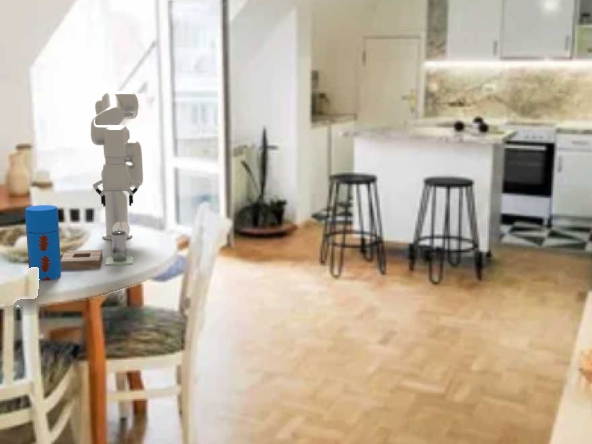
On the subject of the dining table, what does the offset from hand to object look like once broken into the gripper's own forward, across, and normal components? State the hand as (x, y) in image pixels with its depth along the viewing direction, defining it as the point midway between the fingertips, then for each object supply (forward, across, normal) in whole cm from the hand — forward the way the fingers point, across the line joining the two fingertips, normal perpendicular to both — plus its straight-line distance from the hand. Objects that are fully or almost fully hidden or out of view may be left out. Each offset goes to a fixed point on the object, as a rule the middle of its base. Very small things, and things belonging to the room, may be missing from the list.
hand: (117, 205), depth 277 cm
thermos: (+22, +25, +17) cm, 38 cm away
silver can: (+21, 0, 0) cm, 21 cm away
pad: (+22, 0, 0) cm, 22 cm away
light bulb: (+22, 0, -19) cm, 29 cm away
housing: (+22, +14, 0) cm, 26 cm away
